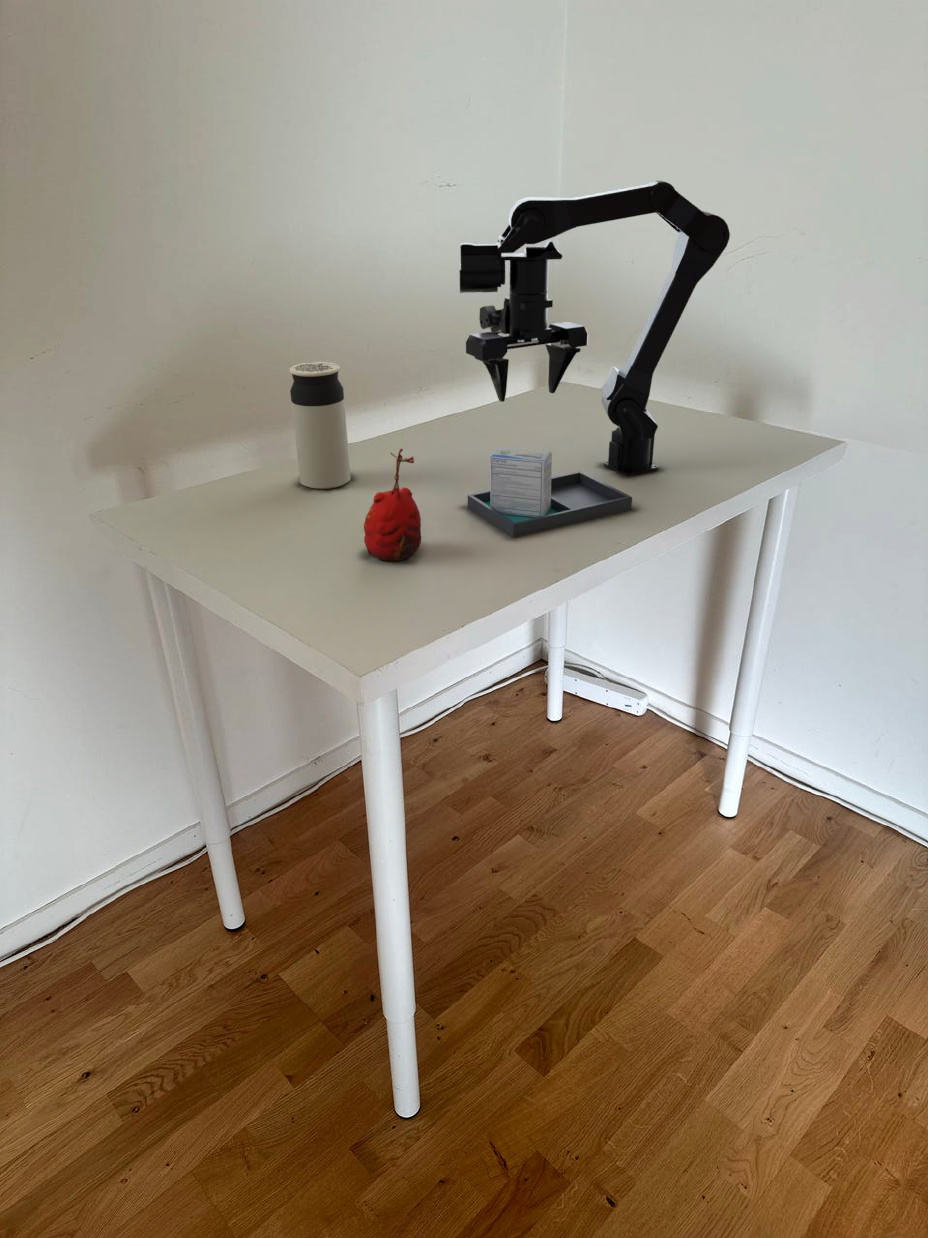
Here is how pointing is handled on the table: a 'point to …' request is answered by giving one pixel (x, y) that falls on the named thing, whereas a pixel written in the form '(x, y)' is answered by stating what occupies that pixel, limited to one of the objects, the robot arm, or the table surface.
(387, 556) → the red lumpy rounded piece
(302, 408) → the travel mug
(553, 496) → the organiser tray
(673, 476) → the table surface
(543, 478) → the medicine box
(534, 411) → the table surface
